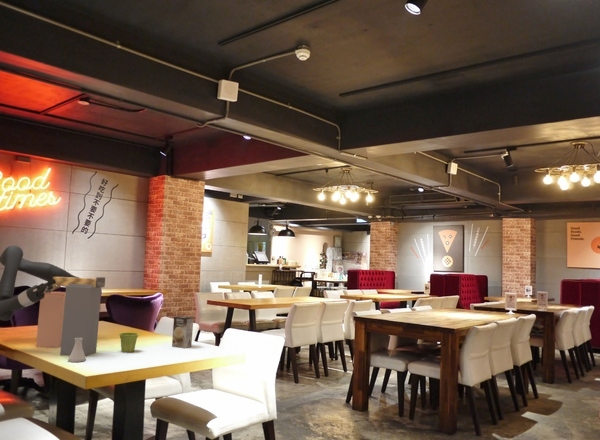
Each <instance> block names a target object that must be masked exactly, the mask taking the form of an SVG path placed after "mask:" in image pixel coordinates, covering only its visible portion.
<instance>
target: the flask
mask: <svg viewBox="0 0 600 440" xmlns="http://www.w3.org/2000/svg"><path fill="white" fill-rule="evenodd" d="M82 339H83V338H75V345H74V348H73V350H72V353H71V355H70V356H69V357H68V359H67V362H70V363H81V362H85V361H86V360H87V359H86V356H85V355H84V351H83V348H82Z"/></svg>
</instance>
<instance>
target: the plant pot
mask: <svg viewBox="0 0 600 440" xmlns="http://www.w3.org/2000/svg"><path fill="white" fill-rule="evenodd" d="M118 335H119V338H120V349H121V352H123V353H131V352H135V348H136V344H137V339H138V337H139V336H140V333H138V332H120V333H119V334H118Z"/></svg>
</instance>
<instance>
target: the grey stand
mask: <svg viewBox="0 0 600 440" xmlns="http://www.w3.org/2000/svg"><path fill="white" fill-rule="evenodd" d="M65 292H66V294H65V305H64V316H63V328H62V339H61V347H60V353H59V356H69V357H70V355H71V353H72V350H73V348H74V345H75V338H83V339H82V348H83V351H84V355H85V357H87V356H89V355H90V356H91V355H93V354H96V353H97V348H98V346H97V345H98V332H99V322H100V321H99V320H100V308H101V298H102V288H96V287H94V285H86V284H68V286H66V287H65Z"/></svg>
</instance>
